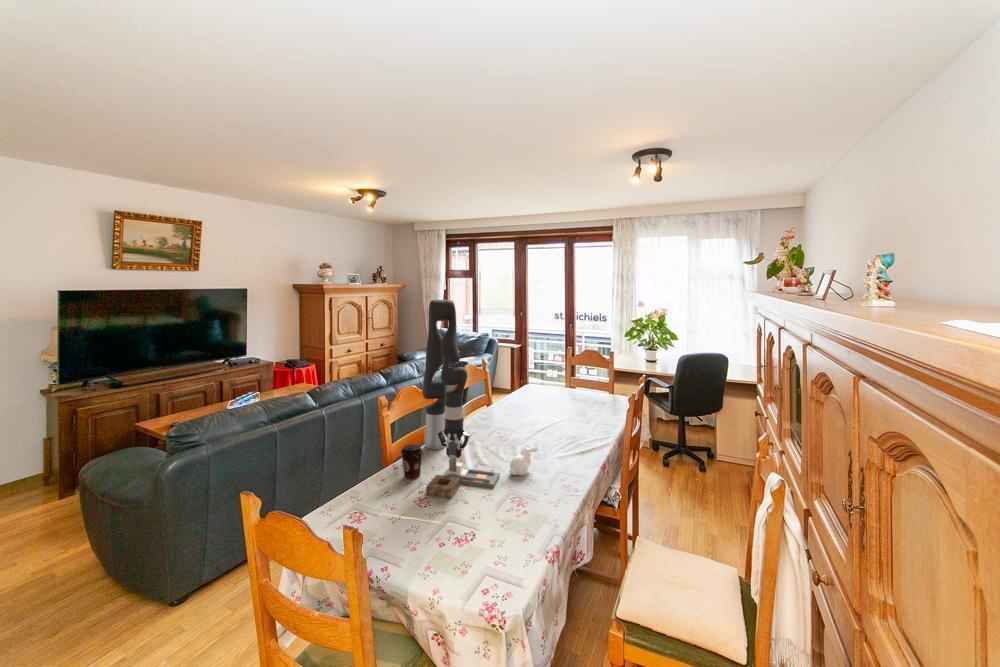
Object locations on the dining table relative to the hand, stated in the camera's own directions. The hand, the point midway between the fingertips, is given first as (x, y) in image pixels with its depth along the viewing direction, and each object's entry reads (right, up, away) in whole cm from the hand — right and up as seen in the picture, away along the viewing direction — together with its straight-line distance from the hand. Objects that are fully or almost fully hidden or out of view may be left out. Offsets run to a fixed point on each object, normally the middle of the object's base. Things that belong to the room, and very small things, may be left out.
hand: (454, 456), depth 176 cm
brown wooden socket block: (-3, -11, -10) cm, 15 cm away
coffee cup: (-17, -9, +1) cm, 20 cm away
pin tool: (0, -6, +1) cm, 6 cm away
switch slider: (+3, -7, 0) cm, 8 cm away
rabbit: (+28, -9, +8) cm, 31 cm away
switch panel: (+7, -9, 0) cm, 12 cm away
